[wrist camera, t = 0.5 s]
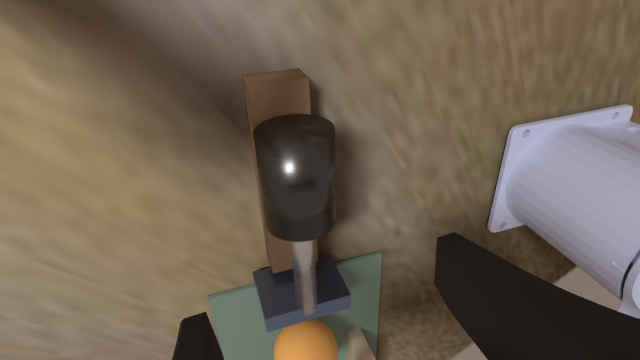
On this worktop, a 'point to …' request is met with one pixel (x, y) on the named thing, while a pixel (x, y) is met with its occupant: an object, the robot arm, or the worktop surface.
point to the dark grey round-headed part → (298, 218)
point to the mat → (364, 286)
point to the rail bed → (264, 103)
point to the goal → (357, 346)
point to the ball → (306, 342)
